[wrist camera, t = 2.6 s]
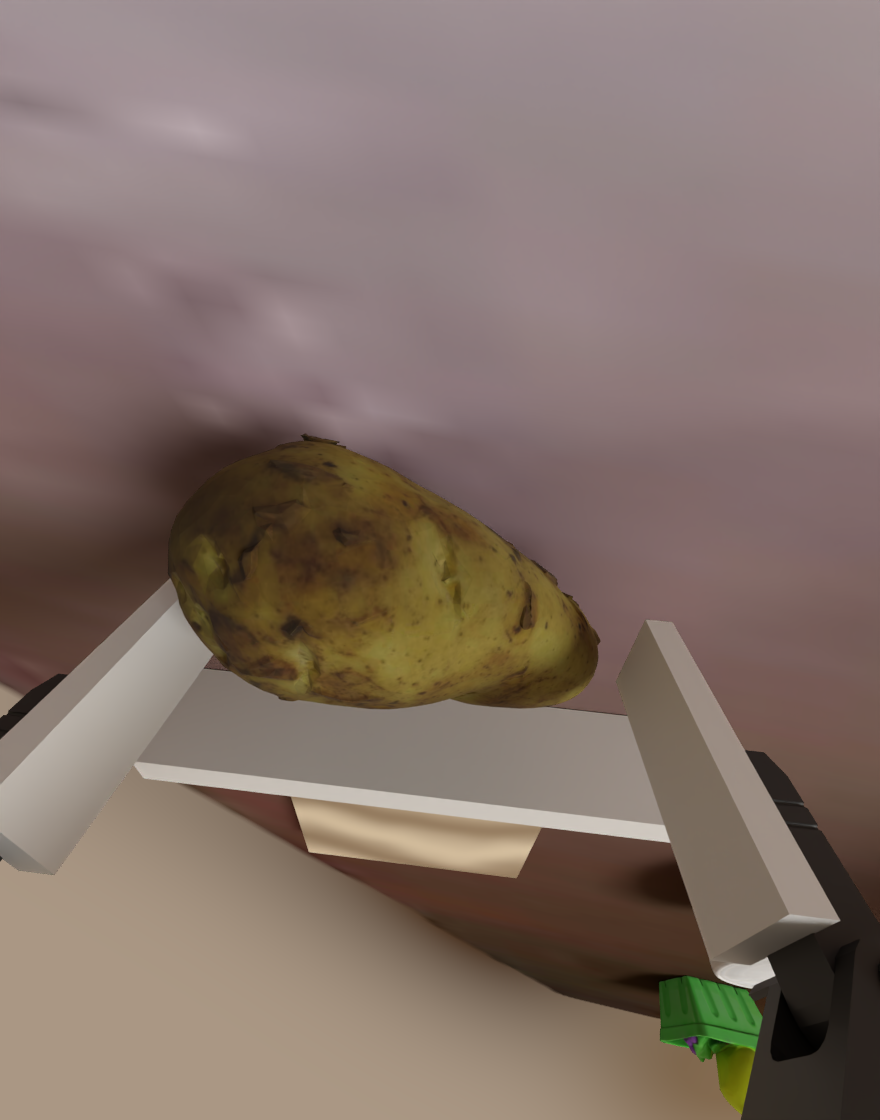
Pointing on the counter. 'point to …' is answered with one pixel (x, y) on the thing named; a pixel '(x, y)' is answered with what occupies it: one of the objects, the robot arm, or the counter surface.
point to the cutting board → (414, 837)
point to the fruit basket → (713, 1028)
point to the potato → (368, 589)
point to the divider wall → (412, 758)
